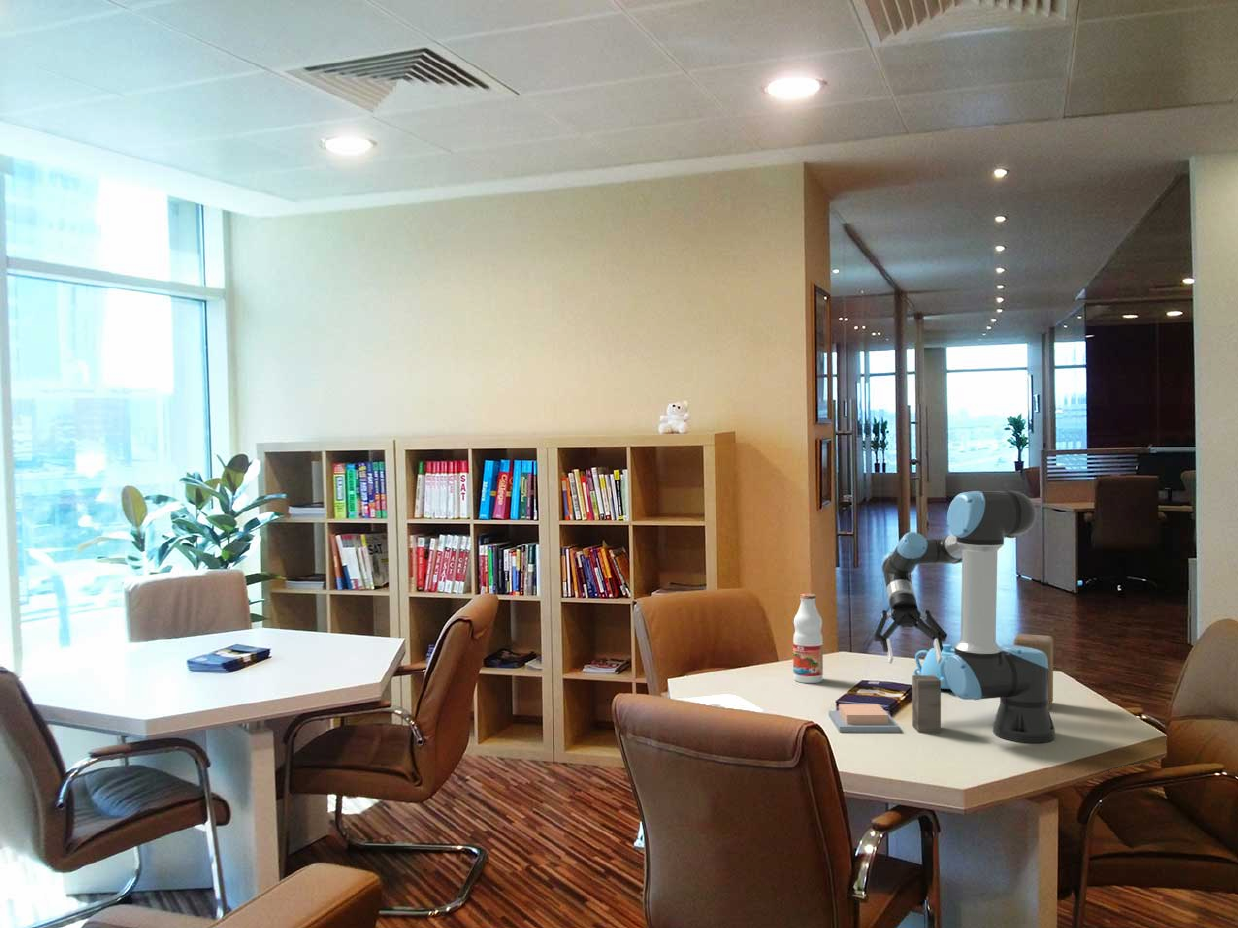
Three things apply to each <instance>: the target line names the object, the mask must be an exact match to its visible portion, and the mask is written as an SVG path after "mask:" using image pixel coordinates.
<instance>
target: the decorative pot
mask: <svg viewBox="0 0 1238 928" xmlns="http://www.w3.org/2000/svg"><path fill="white" fill-rule="evenodd" d="M942 644H943V650H942V652H941V654H942V661H941V663H938V662H937V658H936V654H935V649H934V647H932V648H930V649H929V650H926V649H922V650H919V651H917V652H916V653H915V655H914V658H915V659H914V660H915V663H916V666H917V667H915V668H914V670H913V675H935V676H936V677H937V678H939V679H940V680H941V689H942V690H943V689H944V690H951V688H950V686H949V685H948V683H947V680H946V676H945V670H944V666H945V661H946V660H947V657H949V656H951V655H952V654H954V648H952V647H953V645H952V644H948V643H942ZM922 654H923V655H926V656H925V657H924V659H923V662H922V664H921V662H920V659H919V656H920V655H922ZM917 671H918V672H917Z"/></svg>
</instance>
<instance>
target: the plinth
mask: <svg viewBox="0 0 1238 928" xmlns="http://www.w3.org/2000/svg"><path fill="white" fill-rule="evenodd" d="M828 717H829V718H830V720H831V721H832V723H833V724H834V726H835V727H836V729H837V731H838V732H839V733H901V730H900V729H901V726H900V725H899V724H898V723H897V722H896V721H895V719H894V718H893V717H892V716H891V715H890V714H889V712H887V710H884V709H883V707H882V706H881V705H880V704H878V703H839V704H838V710H828Z"/></svg>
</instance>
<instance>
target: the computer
mask: <svg viewBox="0 0 1238 928" xmlns="http://www.w3.org/2000/svg"><path fill="white" fill-rule="evenodd" d="M676 699H677V698H676ZM677 700H685V701H690V702H695V703H700V704H706V705H712V706H718V707H725V708H734V709H743V710H750V711H755V712H761V713H764V714H765V710H764V709H763V708H761V707H759V706H757V705H755V704H753V703H752V702H750V701H747V700H746V699H745V698H742V697H740V696H739V695H734V694H728V693H726V694H716V695H715V694H714V695H707V696H705V695H704V696H697V697H696V696H695V697H688V698H687V697H686V698H678V699H677Z"/></svg>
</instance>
